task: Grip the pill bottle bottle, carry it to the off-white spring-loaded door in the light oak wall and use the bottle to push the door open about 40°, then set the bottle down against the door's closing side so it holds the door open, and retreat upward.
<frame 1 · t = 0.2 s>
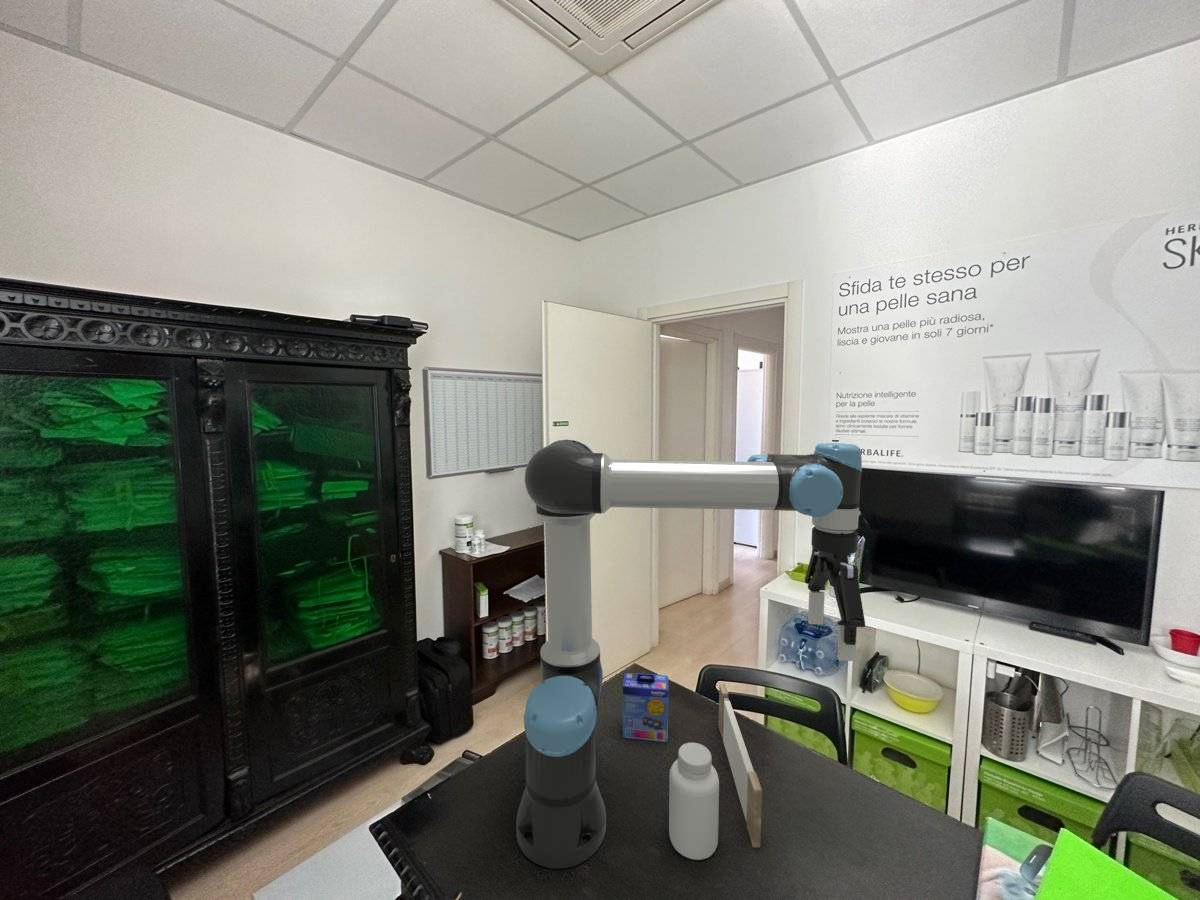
hand: (829, 640, 87), 28 cm above the table, tool pointing down, fingers open, 13 cm apart
door: (736, 753, 90), point 5 cm above the table, hinge at 0.0°
pill bottle: (693, 839, 77), on the table
ink cartridge box: (645, 733, 103), on the table
oak wall: (736, 777, 90), on the table
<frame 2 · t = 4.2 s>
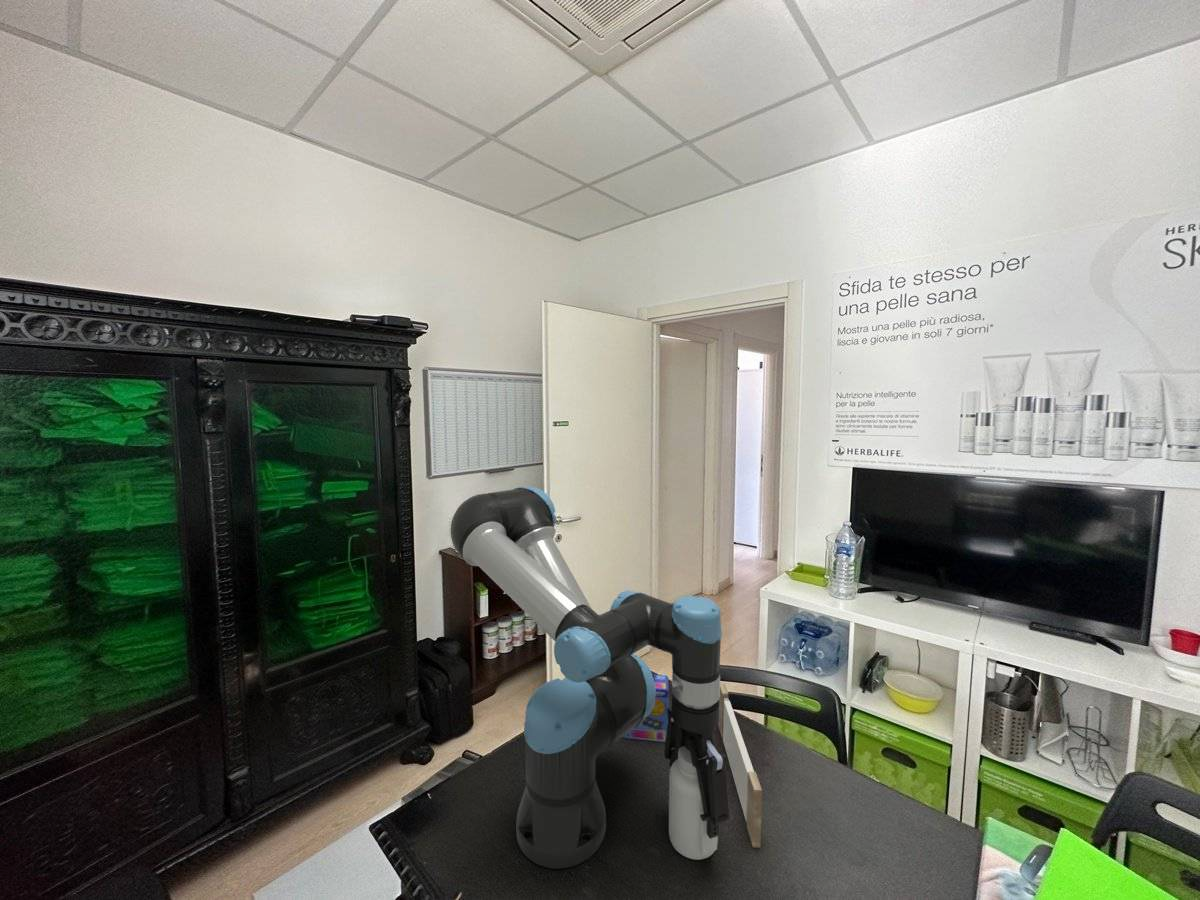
hand: (693, 827, 77), 2 cm above the table, tool pointing down, fingers closed on pill bottle, 8 cm apart
pill bottle: (692, 839, 77), on the table, touching gripper
everything else where it was.
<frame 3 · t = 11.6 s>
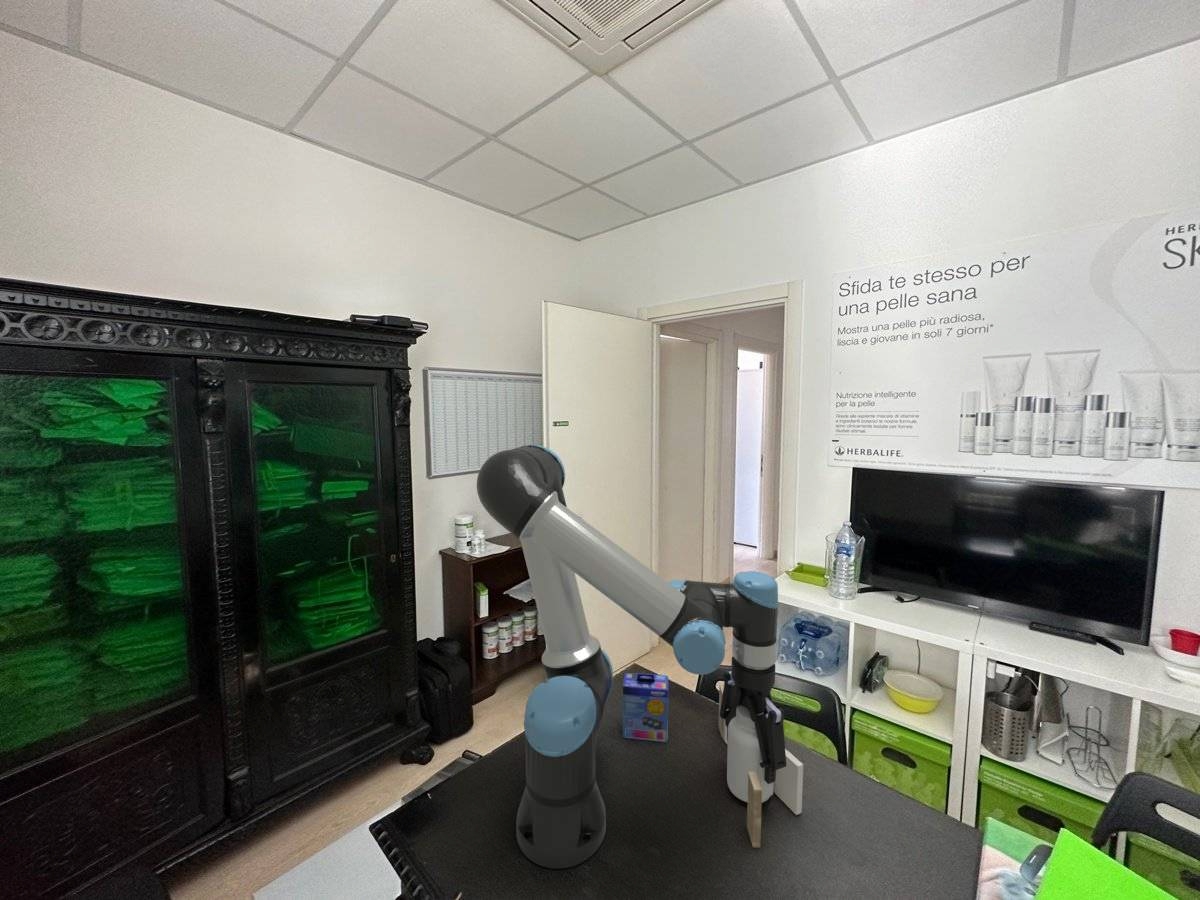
hand: (749, 777, 86), 3 cm above the table, tool pointing down, fingers closed on pill bottle, 8 cm apart
door: (758, 750, 91), point 5 cm above the table, hinge at 26.5°, touching pill bottle
pill bottle: (748, 788, 87), point 1 cm above the table, touching door, gripper
everything else where it was.
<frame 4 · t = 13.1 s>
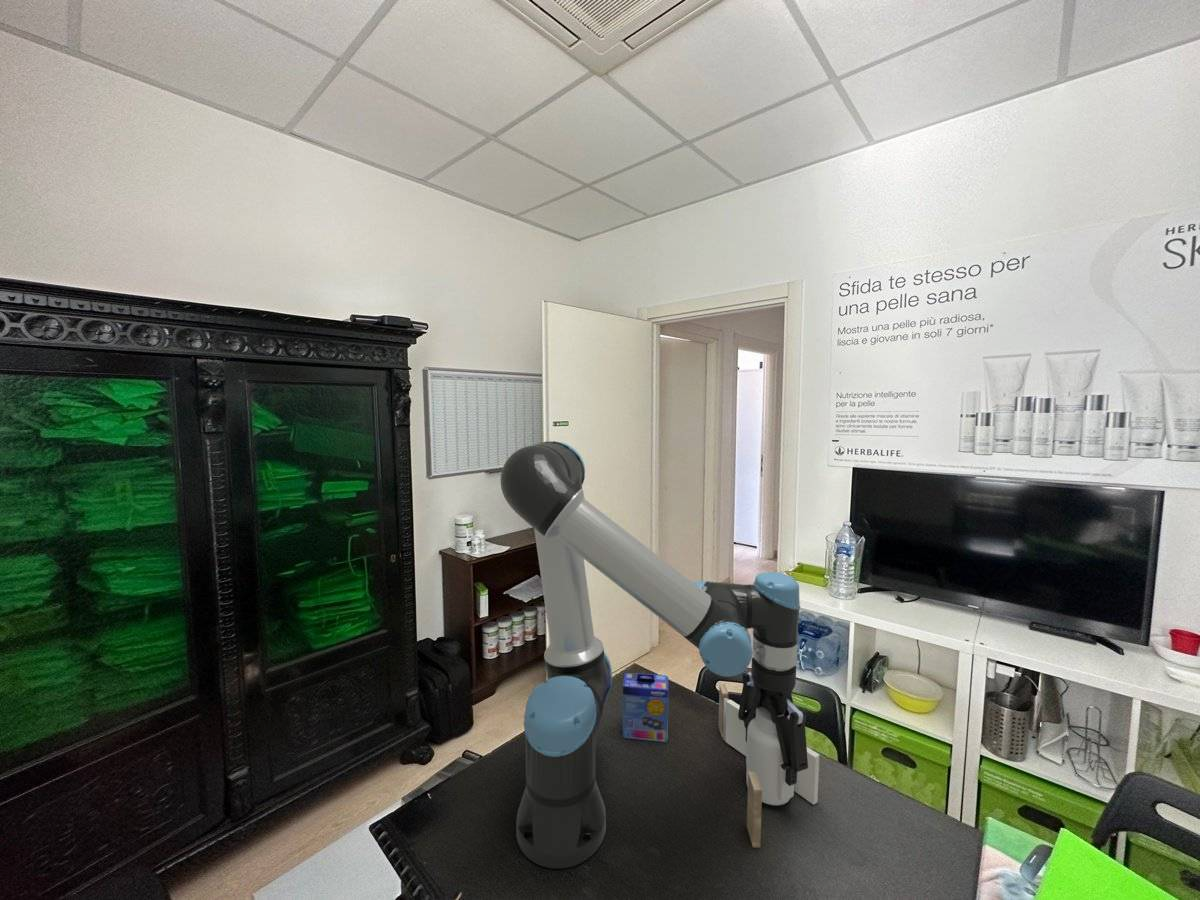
hand: (768, 778, 86), 3 cm above the table, tool pointing down, fingers closed on pill bottle, 8 cm apart
door: (766, 746, 92), point 5 cm above the table, hinge at 39.4°, touching pill bottle
pill bottle: (768, 789, 86), point 1 cm above the table, touching door, gripper
everything else where it was.
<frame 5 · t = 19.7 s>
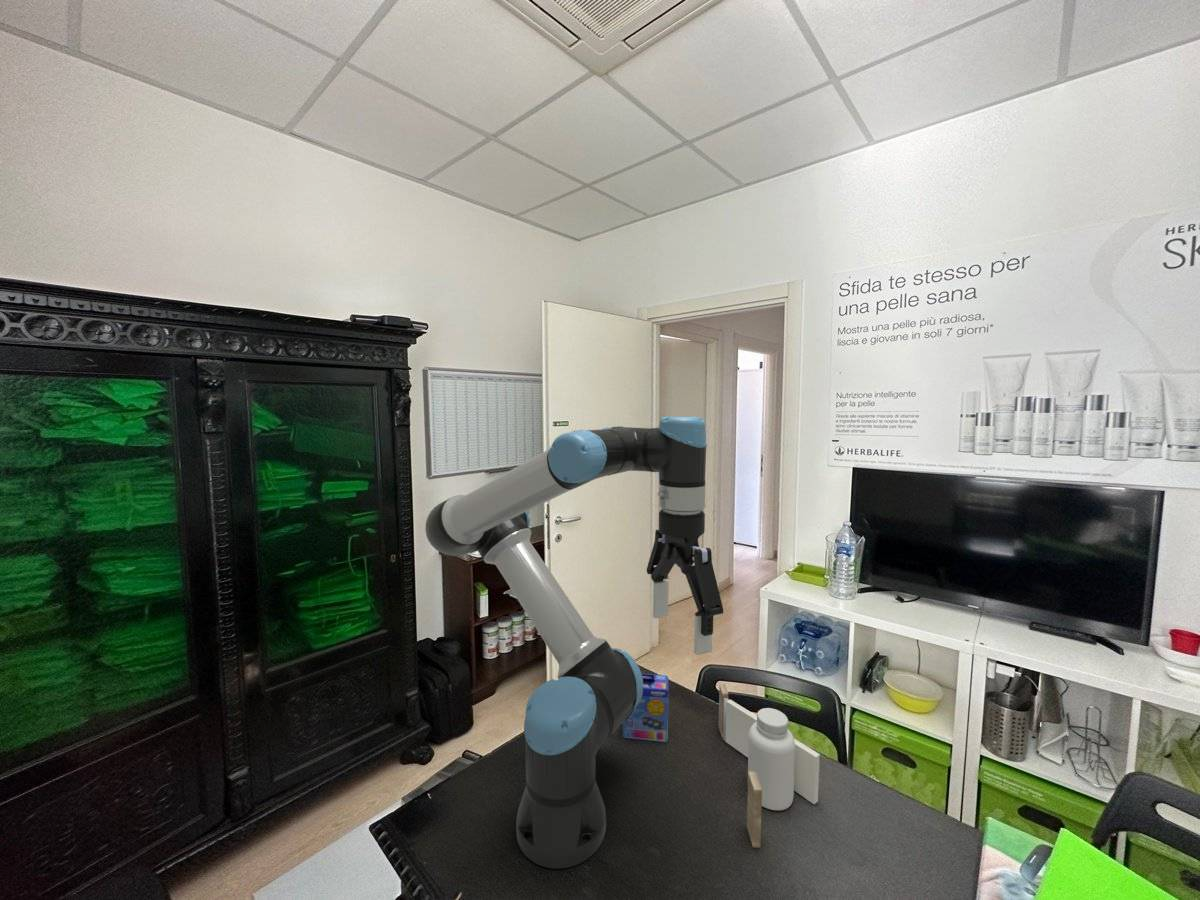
hand: (680, 633, 79), 33 cm above the table, tool pointing down, fingers open, 13 cm apart
door: (766, 746, 92), point 5 cm above the table, hinge at 39.7°, touching pill bottle
everything else where it was.
at the end: door at +40° (first picture: +0°); pill bottle inside the target area (0.1 cm from its centre), on the table; pill bottle tilted 0° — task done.
